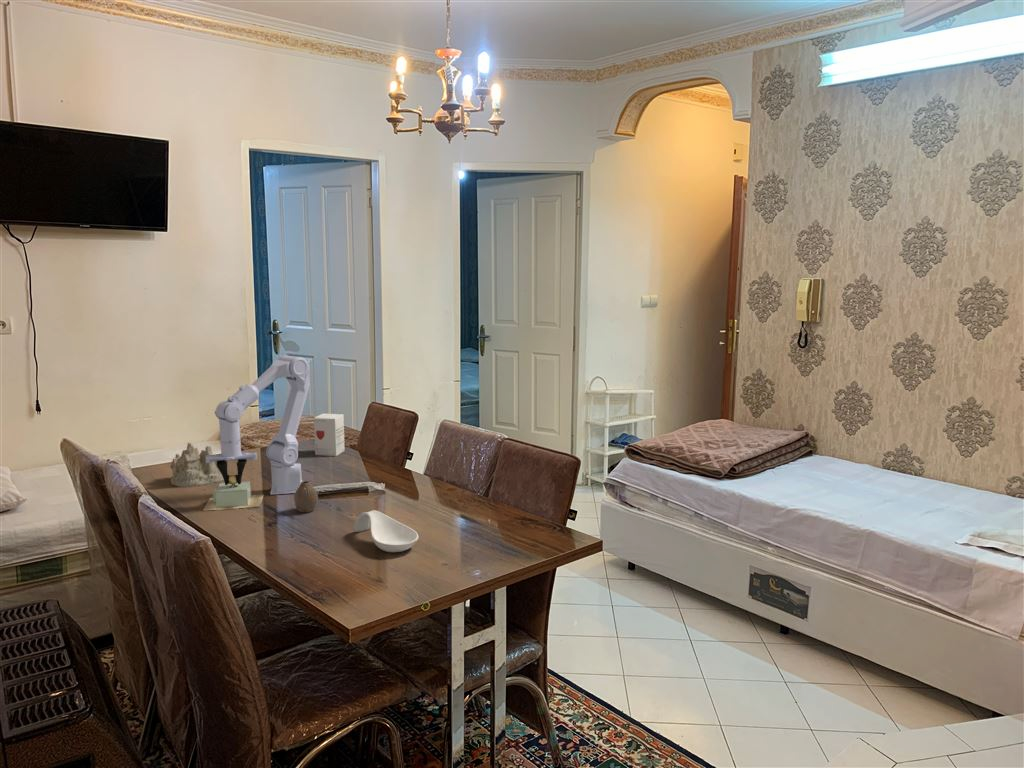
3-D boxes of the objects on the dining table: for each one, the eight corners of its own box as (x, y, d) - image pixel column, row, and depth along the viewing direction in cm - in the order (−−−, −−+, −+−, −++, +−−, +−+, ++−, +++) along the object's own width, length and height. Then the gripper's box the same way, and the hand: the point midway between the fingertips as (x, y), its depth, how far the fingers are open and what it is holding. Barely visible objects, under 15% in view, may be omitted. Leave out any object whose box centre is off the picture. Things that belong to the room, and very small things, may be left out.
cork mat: (263, 495, 237) (263, 494, 237) (259, 507, 226) (259, 506, 226) (210, 499, 234) (210, 498, 234) (203, 511, 222) (203, 509, 222)
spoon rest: (427, 549, 192) (426, 523, 191) (388, 561, 185) (387, 534, 183) (378, 526, 210) (377, 501, 209) (341, 536, 202) (340, 511, 201)
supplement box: (314, 455, 288) (312, 417, 286) (323, 450, 297) (322, 413, 294) (336, 456, 287) (335, 418, 284) (345, 450, 295) (344, 413, 293)
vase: (311, 514, 219) (310, 486, 218) (290, 513, 220) (288, 484, 219) (322, 507, 226) (321, 479, 224) (301, 506, 227) (300, 478, 226)
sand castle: (228, 481, 253) (223, 437, 251) (177, 491, 244) (171, 446, 242) (216, 473, 266) (211, 432, 264) (167, 483, 256) (161, 440, 254)
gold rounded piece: (246, 497, 233) (245, 471, 232) (244, 503, 227) (242, 477, 226) (224, 498, 232) (222, 472, 231) (221, 505, 226) (219, 478, 224)
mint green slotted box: (251, 496, 235) (250, 481, 234) (247, 505, 226) (247, 489, 225) (216, 498, 233) (215, 483, 232) (211, 507, 224) (210, 491, 223)
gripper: (202, 444, 221) (205, 489, 223) (254, 442, 224) (256, 485, 226) (206, 439, 228) (209, 482, 230) (256, 437, 231) (258, 479, 233)
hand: (233, 483), depth 229 cm, fingers closed on gold rounded piece, 3 cm apart
